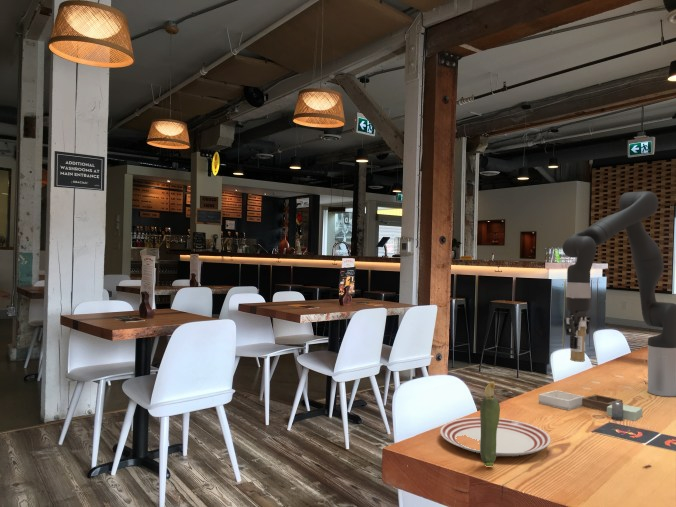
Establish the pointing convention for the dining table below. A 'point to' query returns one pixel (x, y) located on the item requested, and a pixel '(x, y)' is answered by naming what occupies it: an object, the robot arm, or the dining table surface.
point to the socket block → (598, 402)
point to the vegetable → (489, 425)
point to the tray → (561, 400)
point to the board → (628, 412)
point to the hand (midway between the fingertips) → (577, 347)
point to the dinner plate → (499, 436)
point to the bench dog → (617, 410)
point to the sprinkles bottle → (579, 345)
